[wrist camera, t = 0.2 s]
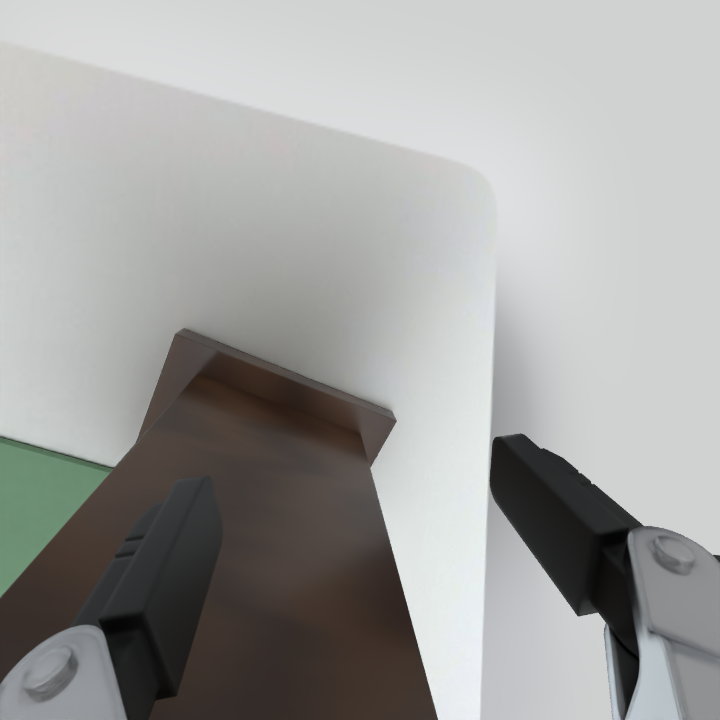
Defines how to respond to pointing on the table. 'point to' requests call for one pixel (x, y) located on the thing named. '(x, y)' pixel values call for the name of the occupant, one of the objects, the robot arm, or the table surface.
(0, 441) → the mat
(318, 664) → the stand
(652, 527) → the robot arm
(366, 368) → the table surface
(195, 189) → the table surface
